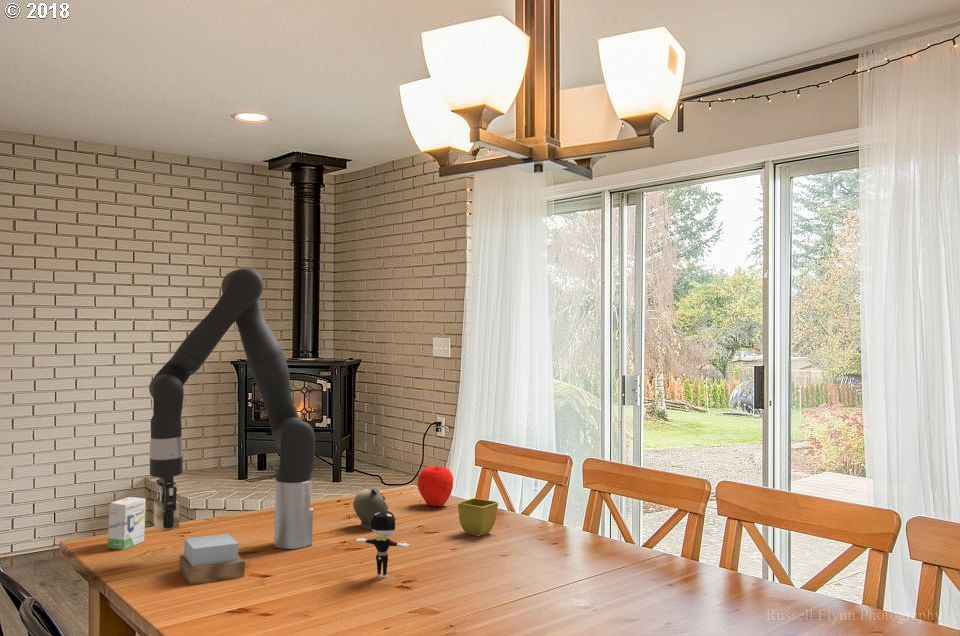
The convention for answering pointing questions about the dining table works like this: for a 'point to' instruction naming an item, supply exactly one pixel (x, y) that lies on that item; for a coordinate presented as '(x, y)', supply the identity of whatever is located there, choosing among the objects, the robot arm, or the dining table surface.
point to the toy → (382, 539)
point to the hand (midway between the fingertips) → (166, 524)
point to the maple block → (159, 516)
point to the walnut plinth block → (211, 571)
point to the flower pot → (477, 515)
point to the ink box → (126, 523)
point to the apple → (435, 485)
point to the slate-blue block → (211, 549)
